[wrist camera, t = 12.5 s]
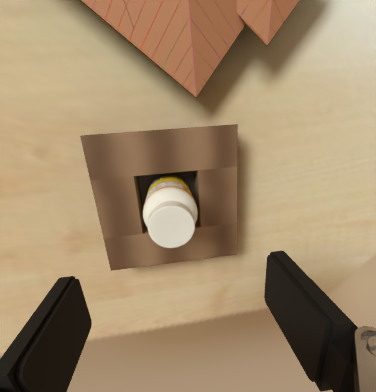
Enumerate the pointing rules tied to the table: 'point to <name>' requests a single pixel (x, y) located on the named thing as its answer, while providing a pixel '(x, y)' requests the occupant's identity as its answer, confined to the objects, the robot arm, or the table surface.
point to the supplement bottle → (170, 211)
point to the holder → (153, 168)
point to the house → (191, 30)
